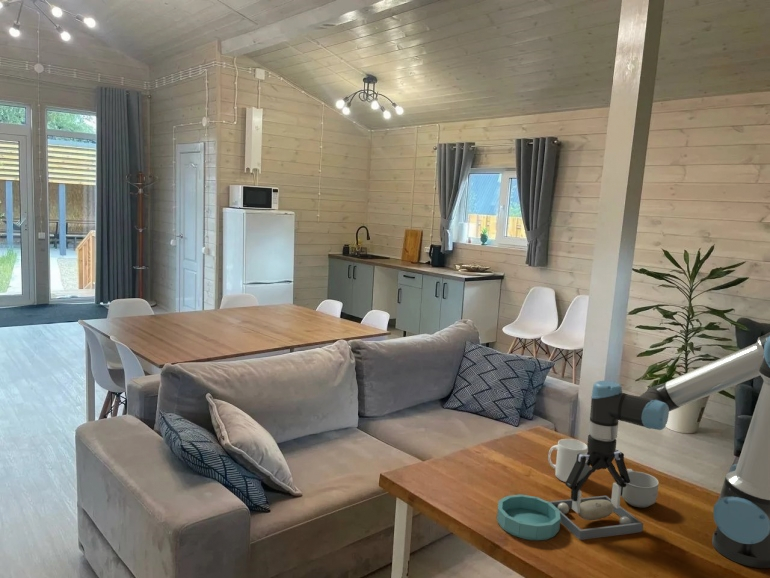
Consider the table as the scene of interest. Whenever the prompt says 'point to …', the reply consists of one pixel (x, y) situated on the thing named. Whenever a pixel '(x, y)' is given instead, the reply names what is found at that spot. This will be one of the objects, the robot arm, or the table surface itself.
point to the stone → (595, 509)
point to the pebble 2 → (624, 520)
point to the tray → (601, 531)
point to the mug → (566, 456)
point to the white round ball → (563, 508)
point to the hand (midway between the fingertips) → (595, 508)
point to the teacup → (640, 489)
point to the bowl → (528, 517)
